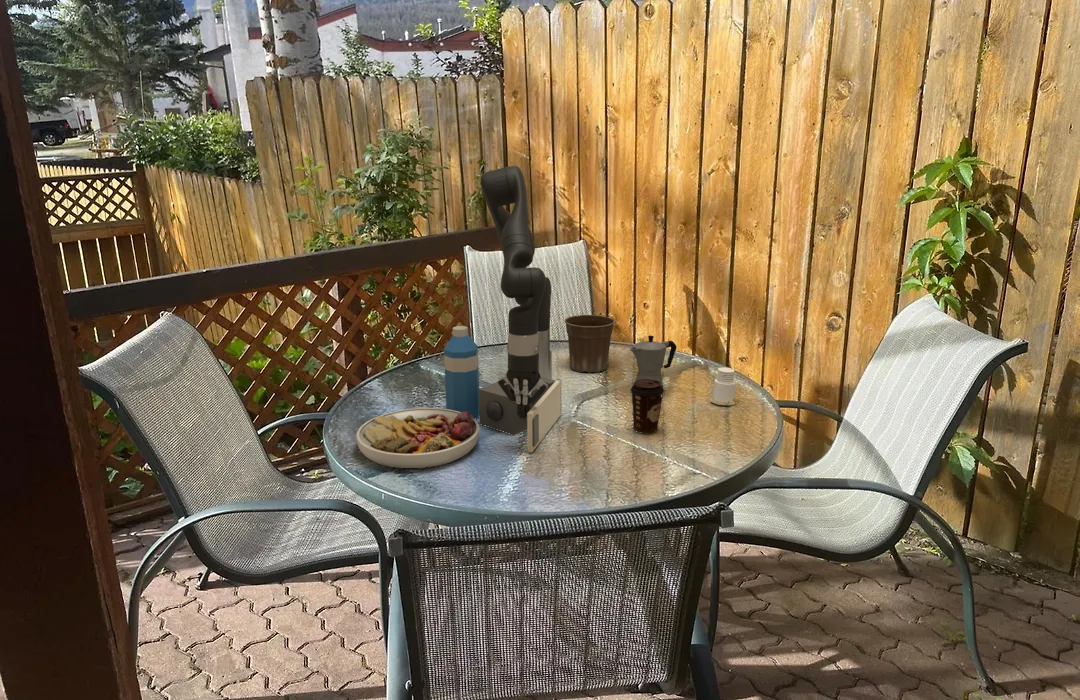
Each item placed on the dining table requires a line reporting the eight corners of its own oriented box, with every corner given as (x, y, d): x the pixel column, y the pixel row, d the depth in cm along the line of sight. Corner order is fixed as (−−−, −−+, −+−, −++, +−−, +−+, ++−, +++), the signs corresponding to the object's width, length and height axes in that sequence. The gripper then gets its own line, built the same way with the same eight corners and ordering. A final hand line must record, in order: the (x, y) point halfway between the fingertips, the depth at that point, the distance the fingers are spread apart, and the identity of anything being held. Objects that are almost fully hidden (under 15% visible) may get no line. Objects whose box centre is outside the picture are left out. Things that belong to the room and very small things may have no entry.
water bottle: (486, 412, 213) (484, 325, 206) (469, 424, 205) (466, 334, 198) (457, 407, 217) (454, 322, 210) (439, 418, 209) (435, 330, 202)
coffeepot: (637, 402, 220) (639, 342, 215) (621, 392, 228) (622, 334, 223) (682, 395, 226) (685, 336, 221) (665, 385, 234) (668, 328, 229)
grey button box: (522, 405, 218) (522, 369, 215) (556, 414, 211) (556, 377, 208) (476, 425, 204) (475, 387, 201) (510, 436, 197) (510, 397, 194)
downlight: (718, 408, 215) (722, 374, 212) (703, 400, 221) (707, 367, 218) (741, 405, 218) (745, 372, 215) (726, 397, 224) (729, 365, 222)
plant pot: (588, 357, 262) (589, 311, 257) (624, 368, 251) (625, 320, 246) (554, 367, 252) (554, 319, 247) (589, 379, 240) (590, 329, 236)
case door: (557, 413, 211) (557, 378, 208) (563, 413, 211) (563, 379, 208) (527, 451, 187) (526, 413, 184) (534, 452, 186) (533, 414, 183)
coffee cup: (665, 426, 203) (667, 379, 199) (659, 437, 195) (661, 389, 192) (633, 422, 206) (634, 376, 202) (626, 433, 198) (627, 386, 194)
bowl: (371, 484, 172) (369, 452, 170) (347, 435, 199) (345, 407, 196) (496, 460, 184) (496, 430, 181) (458, 418, 210) (457, 391, 208)
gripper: (554, 348, 185) (553, 415, 190) (503, 343, 189) (503, 409, 194) (544, 357, 178) (543, 426, 183) (491, 351, 182) (492, 419, 187)
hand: (523, 417), depth 189 cm, fingers closed
